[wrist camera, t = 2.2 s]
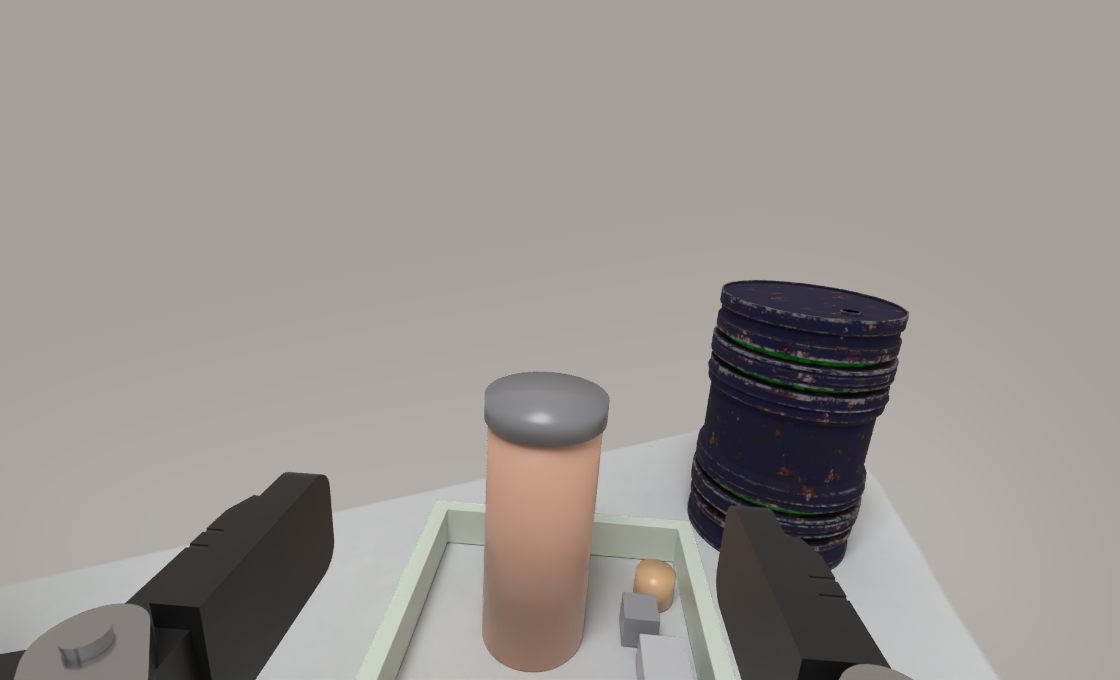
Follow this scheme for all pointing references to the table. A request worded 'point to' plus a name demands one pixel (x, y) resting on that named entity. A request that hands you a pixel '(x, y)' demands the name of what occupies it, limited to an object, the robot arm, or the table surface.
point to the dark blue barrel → (793, 408)
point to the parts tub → (613, 535)
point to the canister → (539, 514)
